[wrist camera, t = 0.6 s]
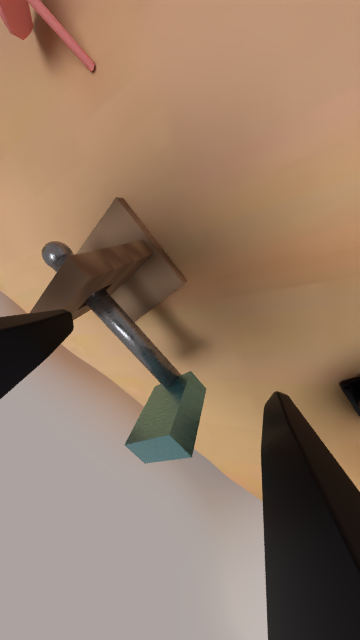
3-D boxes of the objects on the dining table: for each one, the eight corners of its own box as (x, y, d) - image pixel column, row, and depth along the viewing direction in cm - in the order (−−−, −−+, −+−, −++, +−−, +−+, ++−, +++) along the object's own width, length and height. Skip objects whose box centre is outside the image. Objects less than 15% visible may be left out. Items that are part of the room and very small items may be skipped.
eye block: (186, 280, 20) (143, 330, 11) (131, 323, 25) (70, 380, 16) (123, 198, 18) (8, 179, 9) (76, 262, 23) (-27, 290, 14)
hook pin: (208, 380, 19) (191, 457, 13) (172, 393, 21) (144, 463, 15) (72, 221, 15) (-43, 224, 9) (48, 261, 17) (-54, 283, 11)
